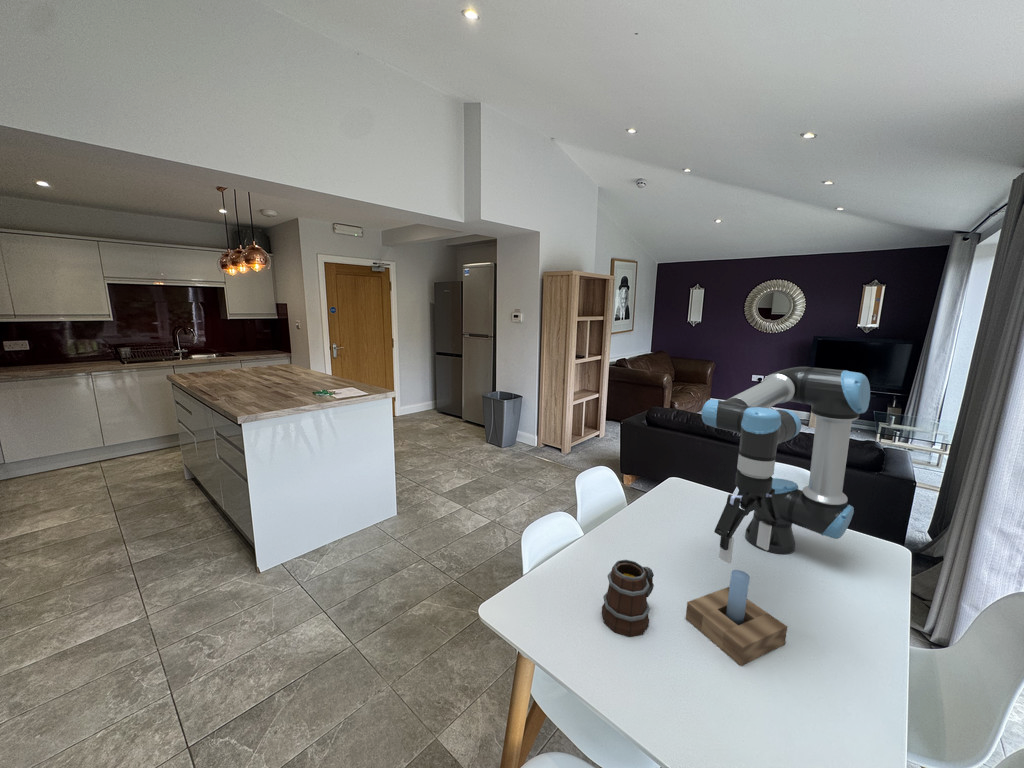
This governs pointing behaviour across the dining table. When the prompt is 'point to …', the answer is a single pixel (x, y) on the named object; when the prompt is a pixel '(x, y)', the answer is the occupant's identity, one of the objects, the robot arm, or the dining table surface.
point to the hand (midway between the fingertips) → (744, 553)
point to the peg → (737, 596)
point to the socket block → (736, 627)
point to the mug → (628, 598)
